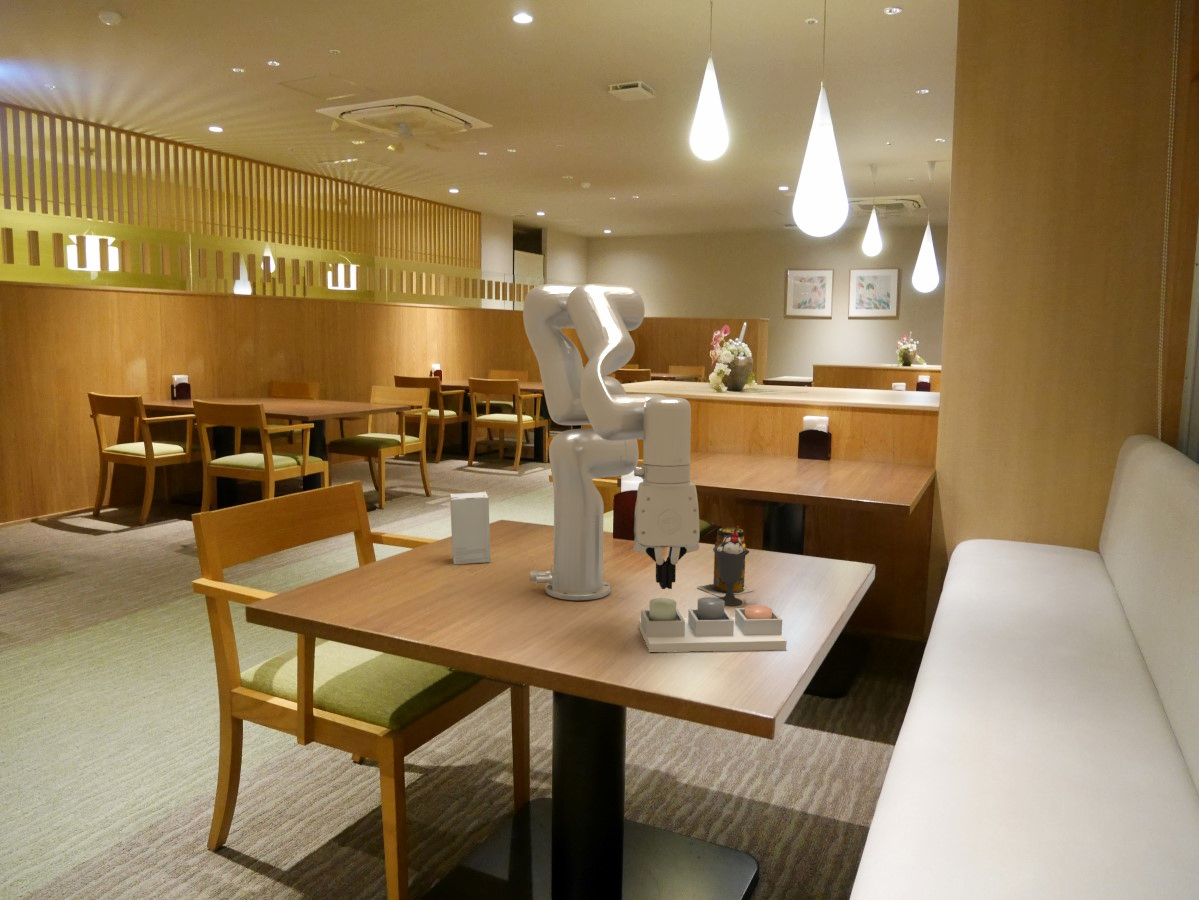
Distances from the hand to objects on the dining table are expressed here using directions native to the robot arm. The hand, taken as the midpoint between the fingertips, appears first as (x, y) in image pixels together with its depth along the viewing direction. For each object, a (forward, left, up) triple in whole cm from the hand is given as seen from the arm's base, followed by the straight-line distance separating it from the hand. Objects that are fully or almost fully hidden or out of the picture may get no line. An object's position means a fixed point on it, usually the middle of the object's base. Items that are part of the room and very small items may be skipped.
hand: (665, 586), depth 139 cm
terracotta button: (+16, +1, -7) cm, 17 cm away
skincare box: (-34, +52, -9) cm, 63 cm away
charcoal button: (+8, +1, -6) cm, 10 cm away
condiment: (+17, +28, -9) cm, 34 cm away
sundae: (+16, +20, -9) cm, 27 cm away
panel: (+8, +1, -9) cm, 12 cm away
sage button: (0, +1, -6) cm, 6 cm away
